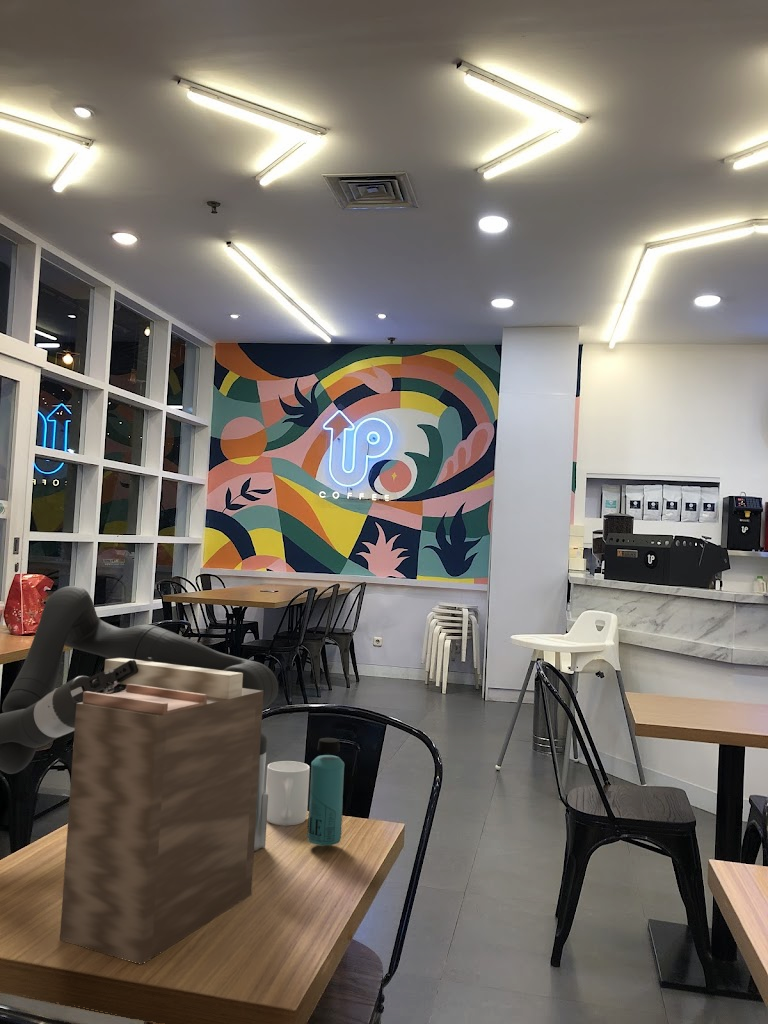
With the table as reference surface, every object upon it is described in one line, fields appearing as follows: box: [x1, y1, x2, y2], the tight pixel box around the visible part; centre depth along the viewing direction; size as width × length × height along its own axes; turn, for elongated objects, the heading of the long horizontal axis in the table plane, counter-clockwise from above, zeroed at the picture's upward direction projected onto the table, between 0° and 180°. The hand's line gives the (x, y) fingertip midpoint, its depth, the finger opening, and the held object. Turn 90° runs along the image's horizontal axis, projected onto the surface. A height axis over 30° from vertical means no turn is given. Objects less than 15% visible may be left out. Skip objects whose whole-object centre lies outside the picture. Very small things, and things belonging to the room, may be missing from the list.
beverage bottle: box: [306, 737, 345, 846], centre depth 155 cm, size 6×7×20 cm
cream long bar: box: [103, 658, 243, 699], centre depth 131 cm, size 24×4×4 cm, turn 66°
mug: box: [265, 760, 311, 827], centre depth 168 cm, size 9×12×11 cm
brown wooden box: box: [59, 684, 263, 964], centre depth 124 cm, size 14×26×33 cm, turn 156°
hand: (143, 664), depth 134 cm, fingers closed on cream long bar, 3 cm apart
